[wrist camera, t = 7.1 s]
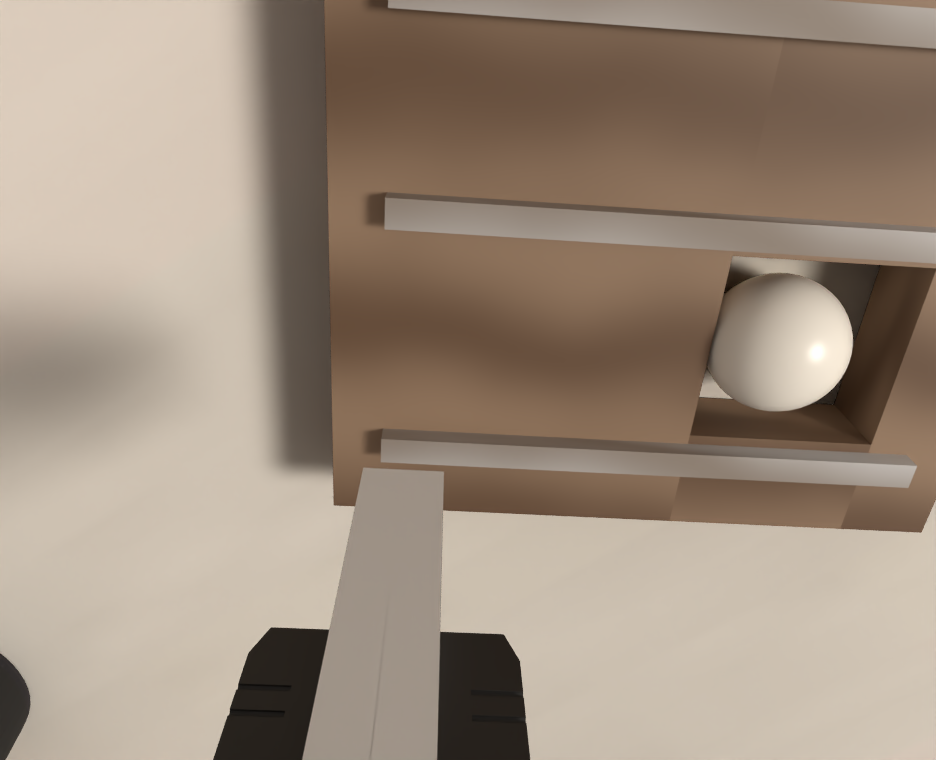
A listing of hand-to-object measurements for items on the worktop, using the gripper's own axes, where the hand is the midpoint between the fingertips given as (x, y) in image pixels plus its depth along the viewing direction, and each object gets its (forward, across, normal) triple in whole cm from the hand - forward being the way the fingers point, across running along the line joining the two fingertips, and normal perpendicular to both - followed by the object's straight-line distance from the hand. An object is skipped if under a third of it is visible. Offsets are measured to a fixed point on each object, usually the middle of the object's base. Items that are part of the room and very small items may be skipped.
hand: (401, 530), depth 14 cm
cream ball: (+8, -10, -1) cm, 13 cm away
